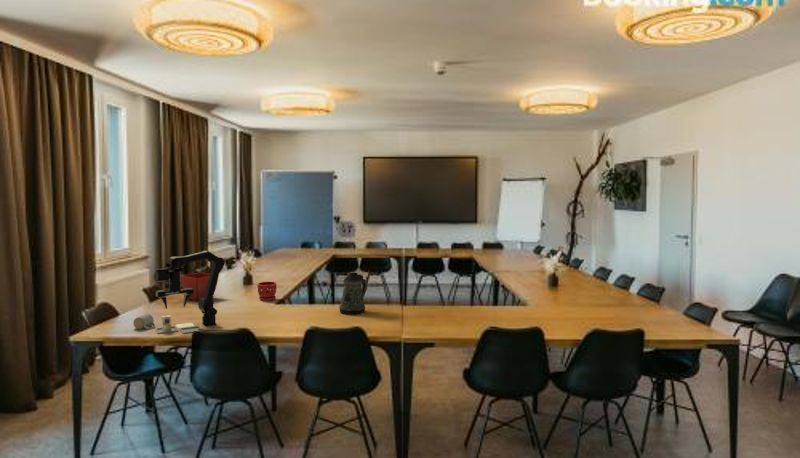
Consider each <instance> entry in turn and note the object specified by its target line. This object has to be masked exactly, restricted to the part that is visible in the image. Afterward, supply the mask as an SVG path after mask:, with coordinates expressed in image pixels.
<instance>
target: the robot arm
mask: <svg viewBox="0 0 800 458" xmlns="http://www.w3.org/2000/svg"><path fill="white" fill-rule="evenodd" d="M204 259H205V260H206V261H208V262H209V268H210V273H209V274H210V276H209V280H208V284H207V287H206V291H205V295H204V297H203V298H200V299H199V301H198V303H197V305H198V310H200V311H201V313H202V317H201V319H202V320H201V321H202V322H201V323H202V325H204V326H208V327H209V326H215V325H217V322H216V315H217V314H218V309H216V308H215V307H214V304H215V303H214V295H215V292H216V289H215V287H216V288H217V286H216V283H217V284H218V282H217V279H218V280H219V276H220V275H219V274H220V273H221V272H222V270H223V268H224V266H225V265H226V261H225V259H224V258H223V257H220V256H217V255H215V254H213V253H212V252H211V251H208V250H202V251H199V252H196V253H191V254H189V255H188V254H187V255H184V256H183V255H182V256H179V255H178V256H171V257H169V258H168V259H167V262H166V264H165V265H164V267H163V268H155V271H154V274H153V279H154V280H153V281H154V282H156V283H157V282H158V283H159V282H166V281H168V280H169V281H168V282H169V283H168V282H166V283H163V289H160V290H156V291H155V296H156V297H157V298H159V299H161V300H162V303H163V305H164V308H165V309H166V310H167V309H168V302H167V297H166V296H168V295H181V294H183V303H182V304H183V305H182V306H183V308H185V306H186V305H187V302H188V300H189V299H188V298H189V296H191V294H194V290H193V289H192V288H185V289H184V290H183V289H181V287H182V283H181V279H180V276H181V272H185V269H184V268H182V267H183V266H185V265H186V264H189V263H192V262H196V261H197V262H198V261H201V260H204ZM165 290H166V291H165ZM214 291H215V292H214ZM213 294H214V295H213Z"/></svg>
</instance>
